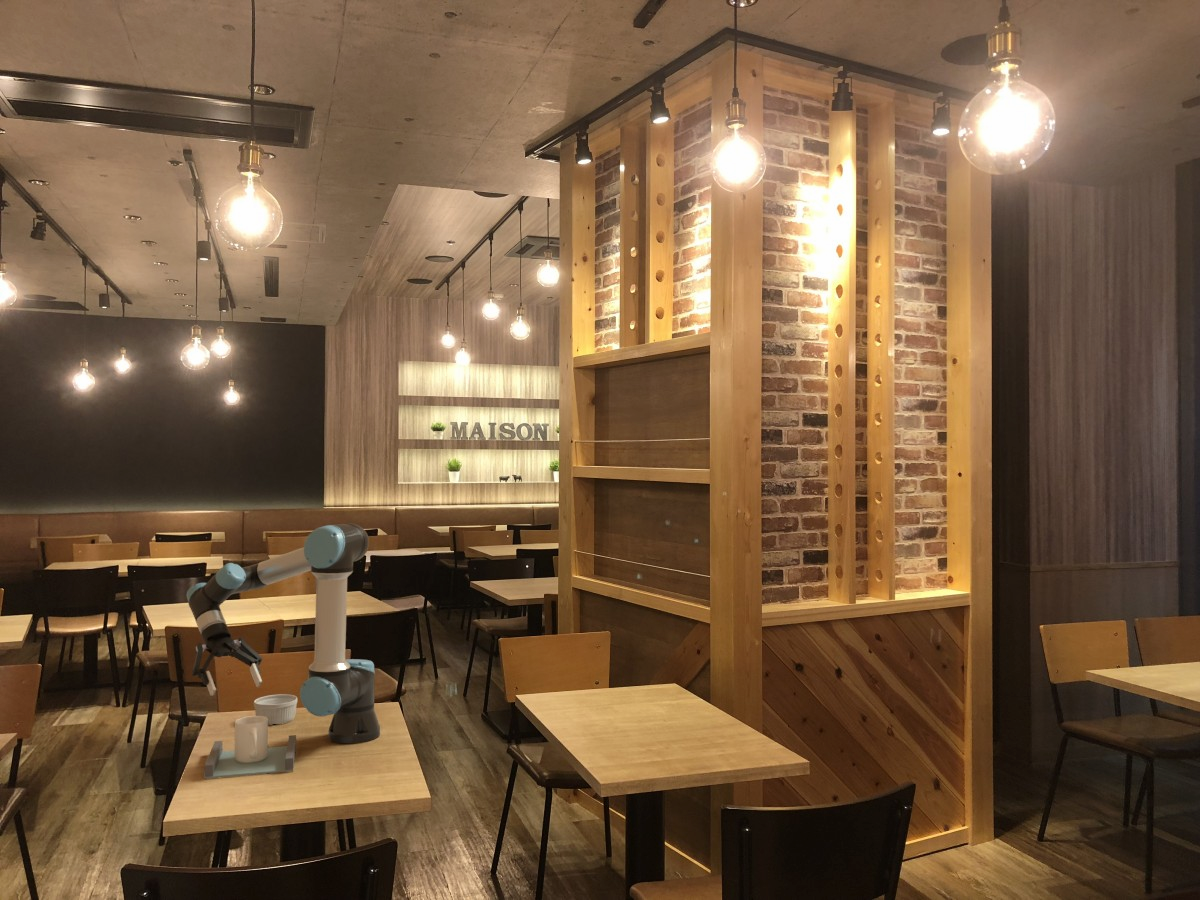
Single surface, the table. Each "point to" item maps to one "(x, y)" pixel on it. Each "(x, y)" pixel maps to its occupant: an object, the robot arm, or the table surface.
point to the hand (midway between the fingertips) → (236, 688)
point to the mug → (251, 739)
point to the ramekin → (276, 708)
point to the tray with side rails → (228, 766)
